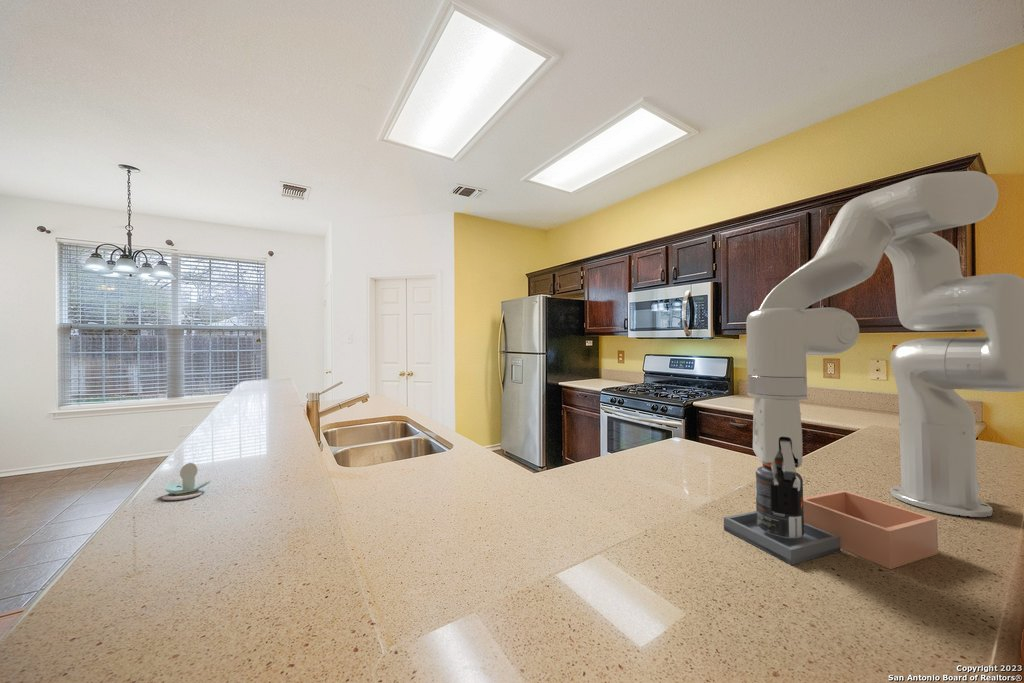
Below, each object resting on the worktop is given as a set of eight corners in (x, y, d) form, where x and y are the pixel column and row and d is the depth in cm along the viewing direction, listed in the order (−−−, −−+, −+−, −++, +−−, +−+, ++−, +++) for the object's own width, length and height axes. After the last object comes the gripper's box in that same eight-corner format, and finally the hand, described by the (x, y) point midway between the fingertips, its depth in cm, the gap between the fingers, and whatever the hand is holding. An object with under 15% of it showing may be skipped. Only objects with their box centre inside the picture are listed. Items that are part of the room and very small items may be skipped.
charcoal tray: (769, 519, 63) (769, 508, 63) (840, 551, 53) (840, 537, 53) (723, 529, 59) (723, 517, 59) (791, 565, 49) (790, 550, 49)
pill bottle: (813, 541, 53) (811, 463, 53) (767, 537, 54) (765, 461, 54) (790, 522, 58) (789, 451, 59) (749, 519, 60) (748, 450, 60)
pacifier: (196, 501, 71) (214, 488, 77) (196, 469, 71) (214, 459, 77) (152, 504, 70) (174, 491, 76) (152, 471, 70) (174, 461, 76)
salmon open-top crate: (843, 519, 63) (843, 490, 63) (938, 553, 52) (937, 518, 52) (798, 529, 59) (797, 498, 59) (890, 569, 48) (889, 531, 49)
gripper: (740, 382, 66) (743, 482, 66) (756, 392, 51) (760, 523, 50) (791, 383, 63) (794, 489, 62) (825, 394, 47) (829, 535, 47)
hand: (779, 503), depth 56 cm, fingers closed on pill bottle, 5 cm apart
